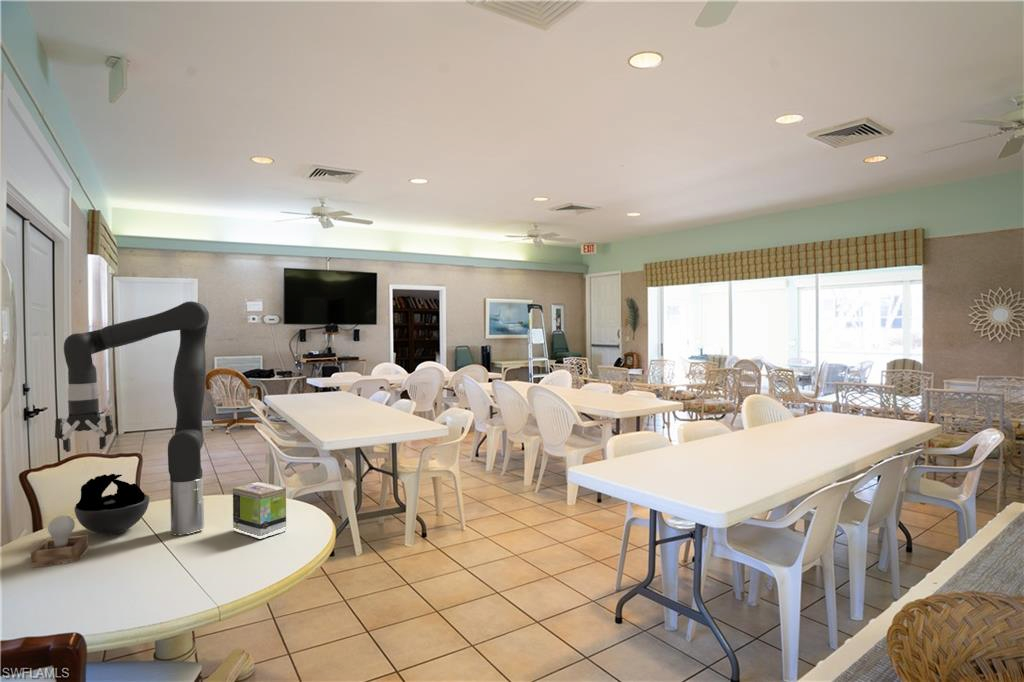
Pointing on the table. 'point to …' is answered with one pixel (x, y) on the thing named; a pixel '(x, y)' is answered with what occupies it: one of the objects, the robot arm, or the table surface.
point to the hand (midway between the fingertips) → (85, 450)
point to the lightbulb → (61, 530)
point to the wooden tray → (59, 551)
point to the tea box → (259, 508)
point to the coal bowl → (110, 505)
